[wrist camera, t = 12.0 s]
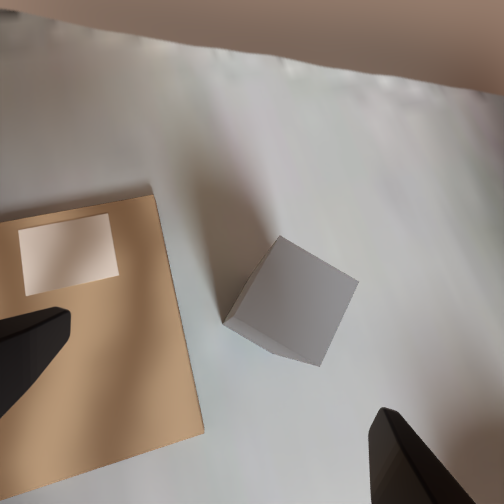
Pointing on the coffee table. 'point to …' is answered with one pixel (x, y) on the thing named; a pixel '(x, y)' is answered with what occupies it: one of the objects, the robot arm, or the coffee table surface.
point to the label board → (95, 343)
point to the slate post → (292, 303)
